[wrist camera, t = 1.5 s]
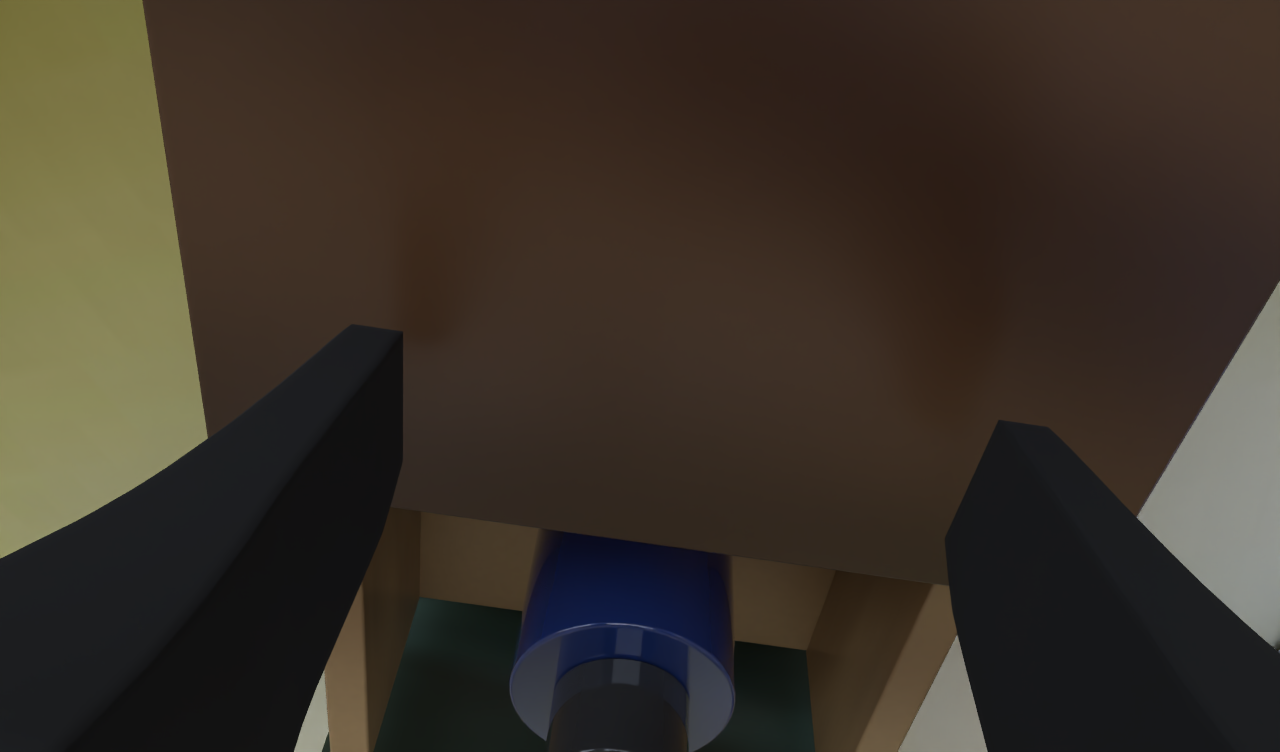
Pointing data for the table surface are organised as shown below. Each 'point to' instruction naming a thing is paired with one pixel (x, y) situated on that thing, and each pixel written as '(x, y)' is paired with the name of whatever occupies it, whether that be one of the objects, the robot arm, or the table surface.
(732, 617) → the ink bottle
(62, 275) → the table surface
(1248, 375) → the table surface
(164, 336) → the table surface
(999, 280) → the cabinet
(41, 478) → the table surface
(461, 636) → the drawer
